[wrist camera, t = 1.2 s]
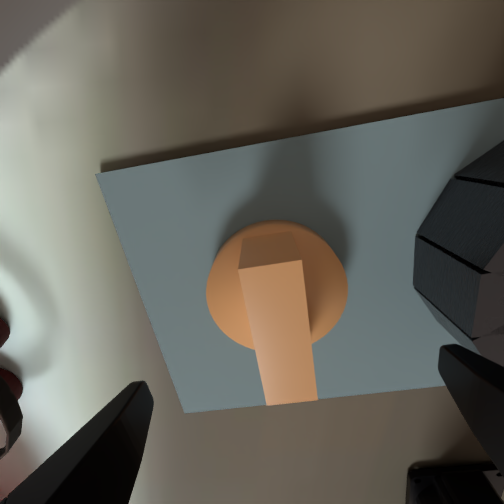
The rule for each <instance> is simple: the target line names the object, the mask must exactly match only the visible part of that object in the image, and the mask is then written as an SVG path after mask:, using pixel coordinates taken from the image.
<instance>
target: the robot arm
mask: <svg viewBox="0 0 504 504" xmlns="http://www.w3.org/2000/svg"><path fill="white" fill-rule="evenodd" d="M438 371H439V374H440V376H441V378H442V379H443V381H444V383H445V385H446V387H447V388H448V390H449V392H450V394H451V395H452V397H453V399H454V401H455V403H456V404H457V406H458V408H459V410H460V411H461V413H462V415H463V417H464V419H465V420H466V422H467V424H468V425H469V427H470V429H471V430H472V432H473V433H474V435H475V436H476V438H477V440H478V441H479V442H480V444H481V445H482V447H483V448H484V450H485V451H486V453H487V454H488V456H489V457H490V458H491V460H492V461H493V463H494V464H484V465H472V466H460V467H448V468H436V469H424V470H414V471H411V472H409V473H408V476H407V492H406V504H504V502H503V500H502V499H501V497H502V493H503V489H504V367H503V366H501V365H499V364H497V363H495V362H493V361H491V360H489V359H487V358H485V357H483V356H481V355H479V354H477V353H475V352H473V351H471V350H469V349H467V348H465V347H463V346H461V345H458V344H447V345H442V346H441V347H440V349H439V359H438ZM153 405H154V401H153V397H152V395H151V392H150V390H149V388H148V385H147V383H146V382H145V381H136V382H132V383H130V384H129V385H128V386H127V387H126V388H124V389H123V390H122V391H121V392H120V393H119V394H118V395H117V396H116V397H115V398H114V399H112V400H111V401H110V402H109V403H108V404H107V405H106V406H105V407H104V408H103V409H102V410H100V411H99V412H98V413H97V414H96V415H95V416H94V417H93V418H92V419H91V420H90V421H88V422H87V423H86V424H85V425H84V426H83V427H82V428H81V429H80V430H79V431H78V432H76V433H75V434H74V435H73V436H72V437H71V438H70V439H69V440H68V441H67V442H66V443H64V444H63V445H62V446H61V447H60V448H59V449H58V450H57V451H56V452H55V453H54V454H52V455H51V456H50V457H49V458H48V459H47V460H46V461H45V462H44V463H43V464H42V465H40V466H39V467H38V468H37V469H36V470H35V471H34V472H33V473H32V474H31V475H29V476H28V477H27V478H26V479H25V480H24V481H23V482H22V483H21V484H20V485H19V486H17V487H16V488H15V489H14V490H13V491H12V492H11V493H10V494H9V495H8V498H7V497H6V498H4V499H3V500H2V501H1V502H0V504H128V503H129V500H130V497H131V494H132V490H133V487H134V484H135V481H136V477H137V474H138V471H139V468H140V464H141V461H142V457H143V453H144V448H145V443H146V439H147V434H148V429H149V425H150V420H151V416H152V411H153Z"/></svg>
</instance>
